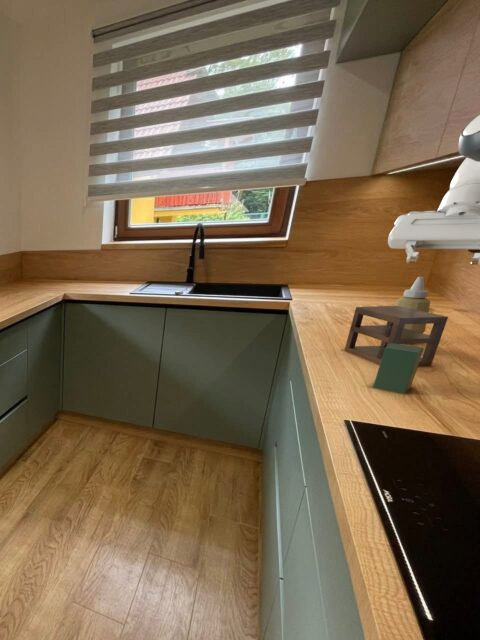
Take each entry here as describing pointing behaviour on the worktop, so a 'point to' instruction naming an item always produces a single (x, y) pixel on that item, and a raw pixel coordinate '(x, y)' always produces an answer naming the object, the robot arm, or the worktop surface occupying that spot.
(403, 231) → the robot arm
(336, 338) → the worktop surface
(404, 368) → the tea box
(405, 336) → the rack
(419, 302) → the squeeze bottle
